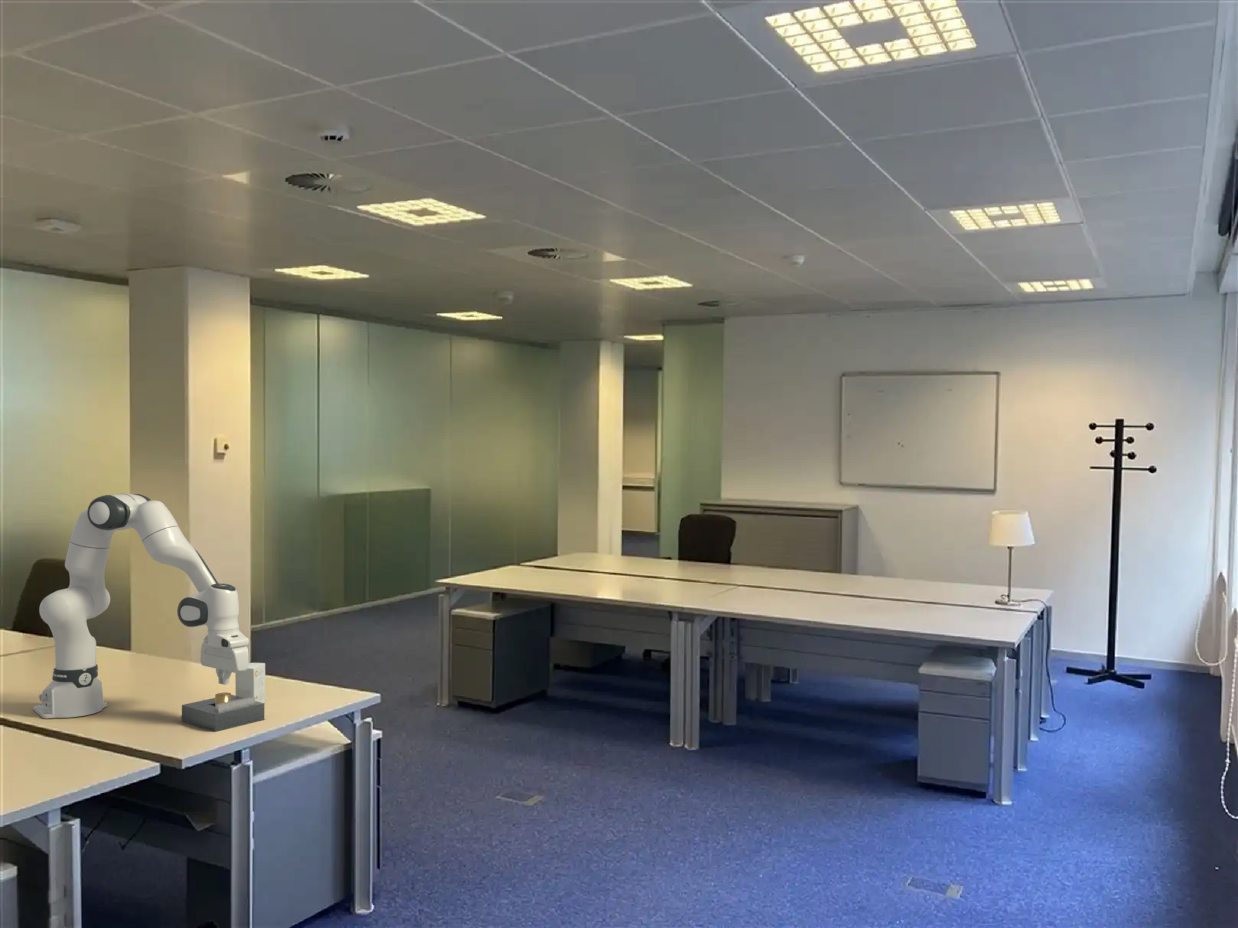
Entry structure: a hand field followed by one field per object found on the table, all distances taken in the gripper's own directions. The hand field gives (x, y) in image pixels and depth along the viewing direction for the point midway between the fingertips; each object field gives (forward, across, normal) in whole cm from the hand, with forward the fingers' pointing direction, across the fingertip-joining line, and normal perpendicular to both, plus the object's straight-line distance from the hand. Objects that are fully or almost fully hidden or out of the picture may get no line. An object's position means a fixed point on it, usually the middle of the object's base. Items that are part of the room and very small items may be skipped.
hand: (223, 683), depth 293 cm
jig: (+11, 0, 0) cm, 11 cm away
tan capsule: (+11, 0, 0) cm, 11 cm away
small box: (+11, -9, +15) cm, 21 cm away
